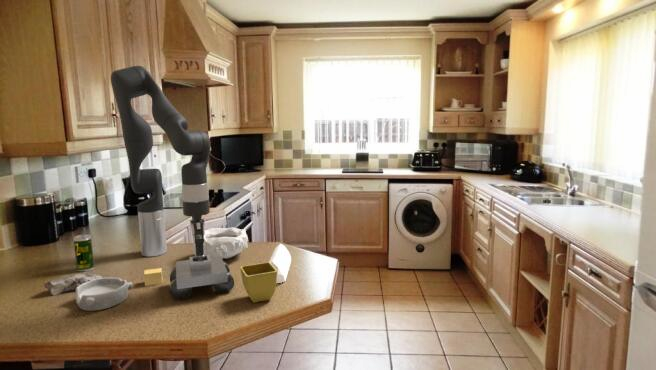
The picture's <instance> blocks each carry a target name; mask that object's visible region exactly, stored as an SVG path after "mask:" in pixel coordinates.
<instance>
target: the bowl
mask: <svg viewBox="0 0 656 370" xmlns="http://www.w3.org/2000/svg"><path fill="white" fill-rule="evenodd" d="M204 231H205V235H204V254H205V255H209V256H210V257H216V256H221V257H222V259H223V260H226V259H231V258H232V257H235V256H236V255H238V254H239V253H241V252H243V254H244V249H247V248H249V247H248V246H249V245H250V243H249V238H248V234H247V232H246V229H243V228H242V229H240V228H238V227H231V226H230V227H225V228H222V227H211V228H208V229H204ZM192 249H193V253H195V250H194V237H193V236H192Z"/></svg>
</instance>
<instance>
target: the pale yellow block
mask: <svg viewBox="0 0 656 370" xmlns="http://www.w3.org/2000/svg"><path fill="white" fill-rule="evenodd" d="M162 270H163V269H162V267H159V268H151V269H144V271H143V272H144V274H143V278H144V287H148V286H149V287H150V286H156V285H163V271H162Z"/></svg>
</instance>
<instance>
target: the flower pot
mask: <svg viewBox="0 0 656 370" xmlns="http://www.w3.org/2000/svg"><path fill="white" fill-rule="evenodd" d="M239 269H240V274H241V280H242V285H243V287H244V289H245V292H246V293H247V295H248V297H249V298H250V300H251V302H252V303H254V304H255V303H259V301H260V302H264V301H269V300H271V299H272V298H273V296H274V294H275V291H276V288H277V284H276V280H277V270H276V269H275V268H274V267H273V266H272V264H271V263H269V261H266V262H261V263H255V264H248V265H242V266H240V267H239Z"/></svg>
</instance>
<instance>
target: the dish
mask: <svg viewBox="0 0 656 370" xmlns="http://www.w3.org/2000/svg"><path fill="white" fill-rule="evenodd" d="M132 289H133V282H131V281H129V282H128V281H127V280H126V279H122V278H120V277H110V276H109V277H102V278H98V279H94V280H91V281H88V282H85V283H83V284H81V285H80V286H78V287H77V288H76V290H75V302H76V304H77V306H78V307H79V309H81V310H83V311H87V312H93V311H94V312H95V311H100V310H106V309H108V308H112V307H114V306H117V305H118V304H121V303H122V302H123V301H125V300H126V299H127V297H129V296H128V295H129V291H130V290H132Z"/></svg>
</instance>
